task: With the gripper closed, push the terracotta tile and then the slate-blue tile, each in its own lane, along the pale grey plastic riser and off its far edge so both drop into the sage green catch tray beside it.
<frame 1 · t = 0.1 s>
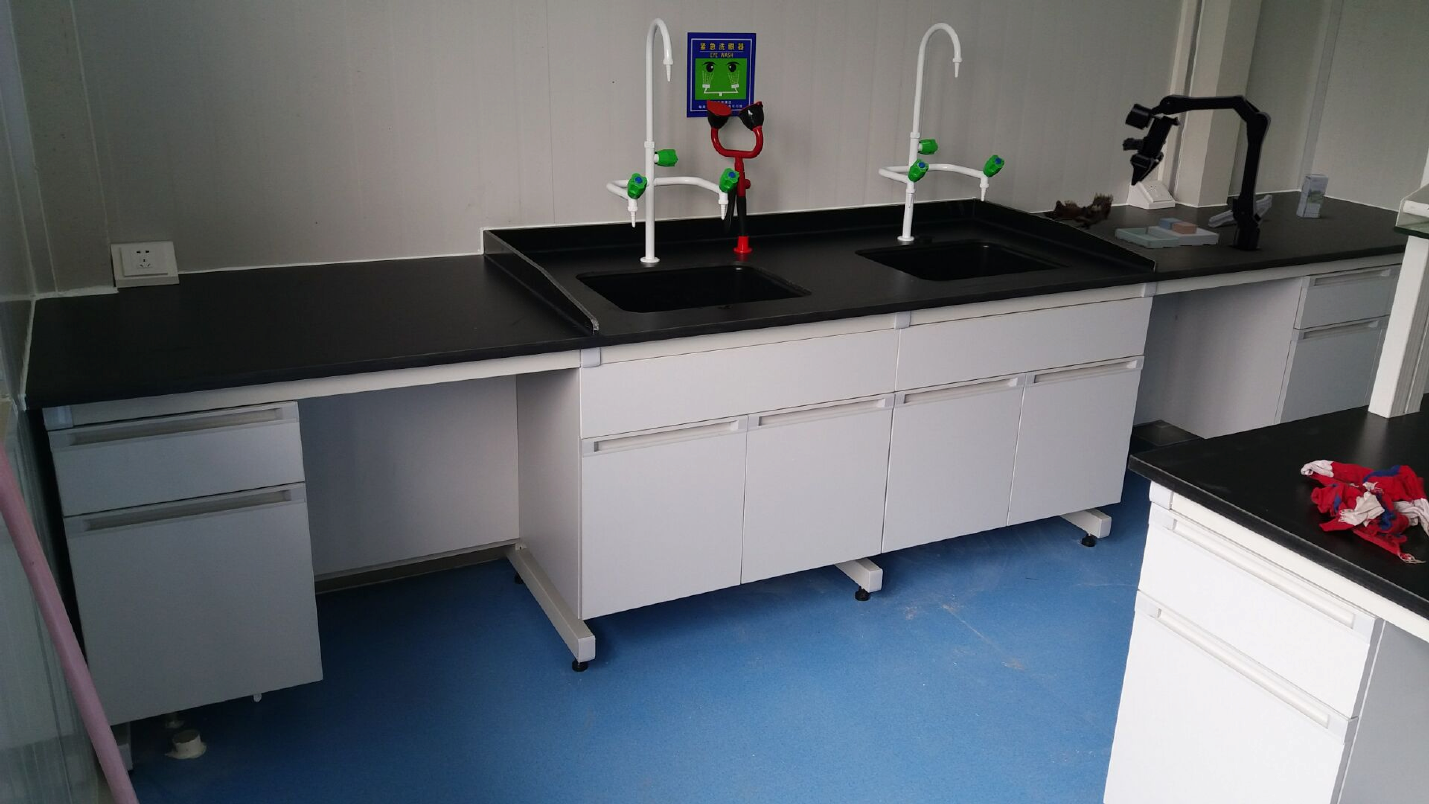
hand: (1136, 183, 340), 15 cm above the countertop, tool pointing down, fingers open, 9 cm apart
catch tray: (1145, 241, 333), on the countertop
terracotta tile: (1183, 232, 334), point 3 cm above the countertop, touching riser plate
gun: (1237, 224, 363), on the countertop
syrup box: (1307, 217, 377), on the countertop
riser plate: (1181, 240, 337), on the countertop
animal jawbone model: (1087, 223, 359), on the countertop
slate blue tile: (1170, 227, 339), point 3 cm above the countertop, touching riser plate
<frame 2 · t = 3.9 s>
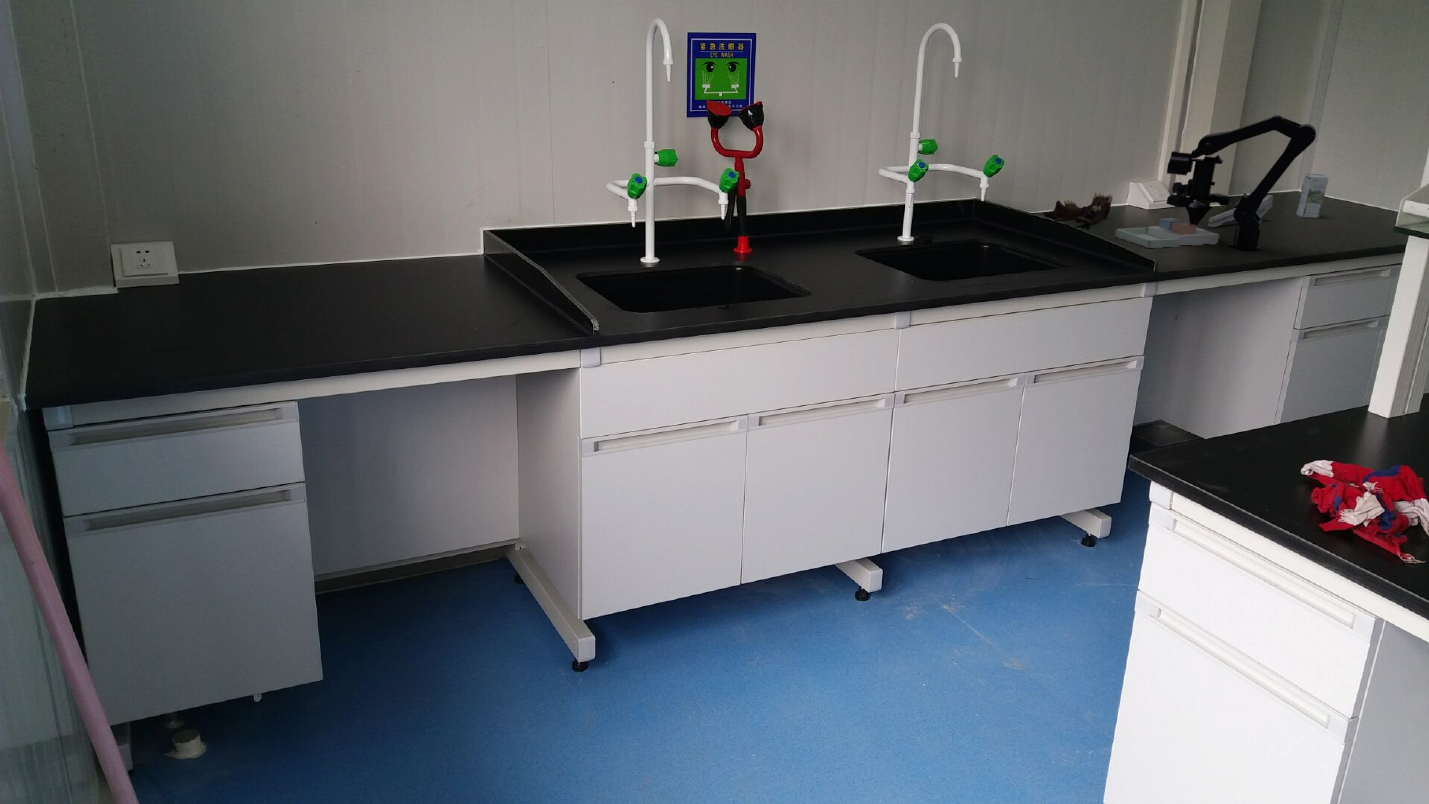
hand: (1192, 228, 334), 4 cm above the countertop, tool pointing down, fingers closed
terracotta tile: (1183, 232, 334), point 3 cm above the countertop, touching gripper
everything else where it was.
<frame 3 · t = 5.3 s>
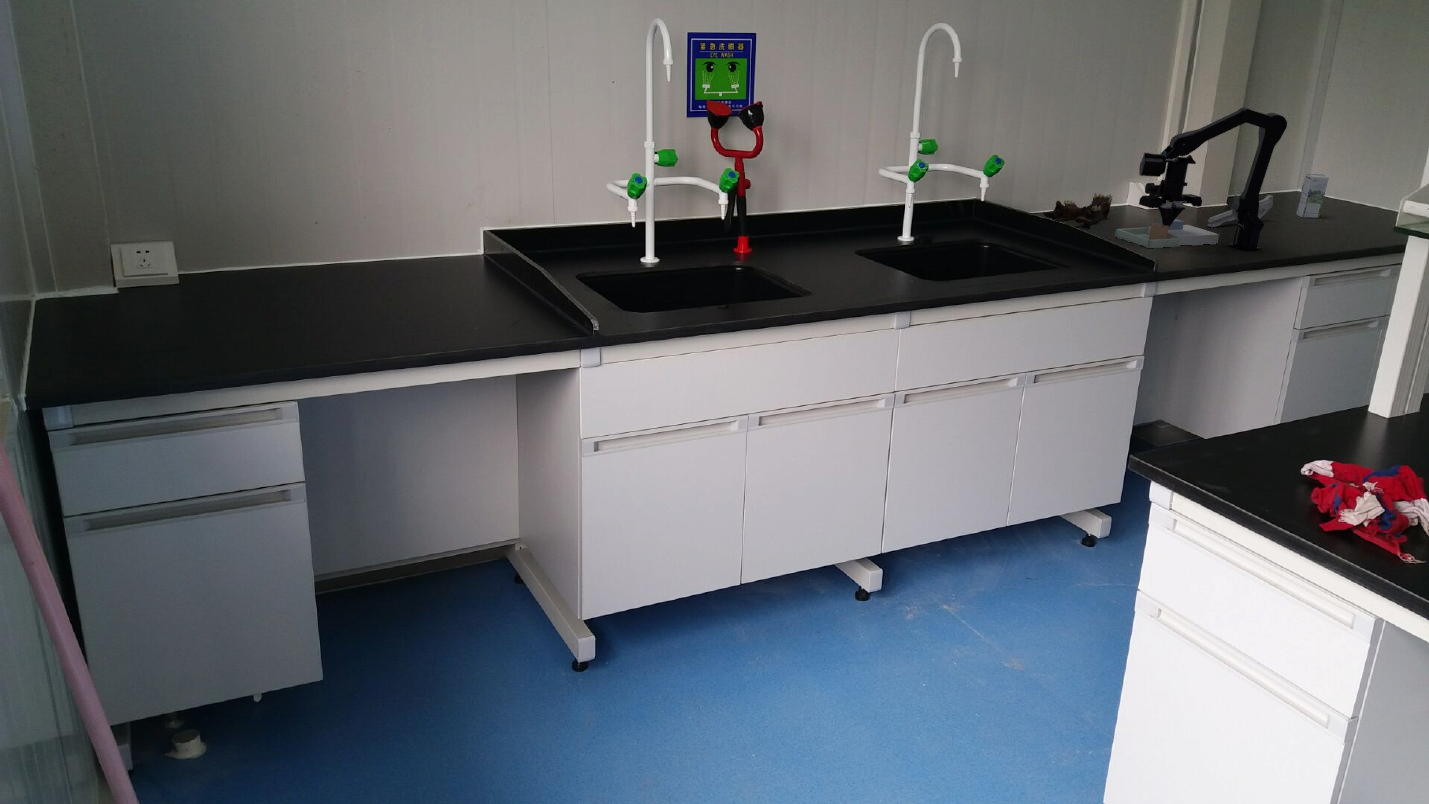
hand: (1165, 229, 332), 4 cm above the countertop, tool pointing down, fingers closed
terracotta tile: (1162, 232, 332), point 3 cm above the countertop, tilted 92°, touching catch tray, gripper
everything else where it was.
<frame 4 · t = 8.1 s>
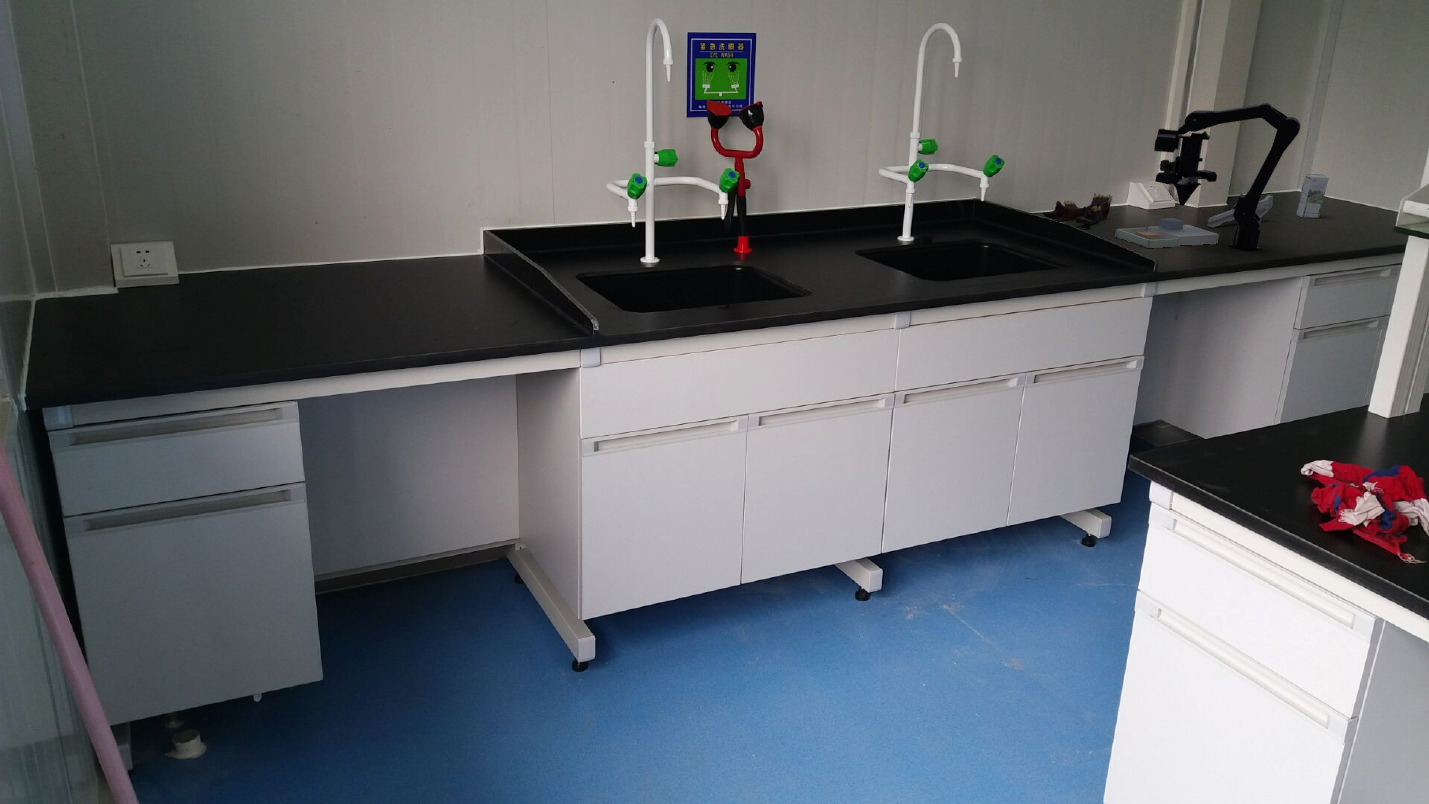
hand: (1181, 205, 334), 11 cm above the countertop, tool pointing down, fingers closed
terracotta tile: (1148, 233, 330), point 3 cm above the countertop, tilted 180°, touching catch tray
everything else where it was.
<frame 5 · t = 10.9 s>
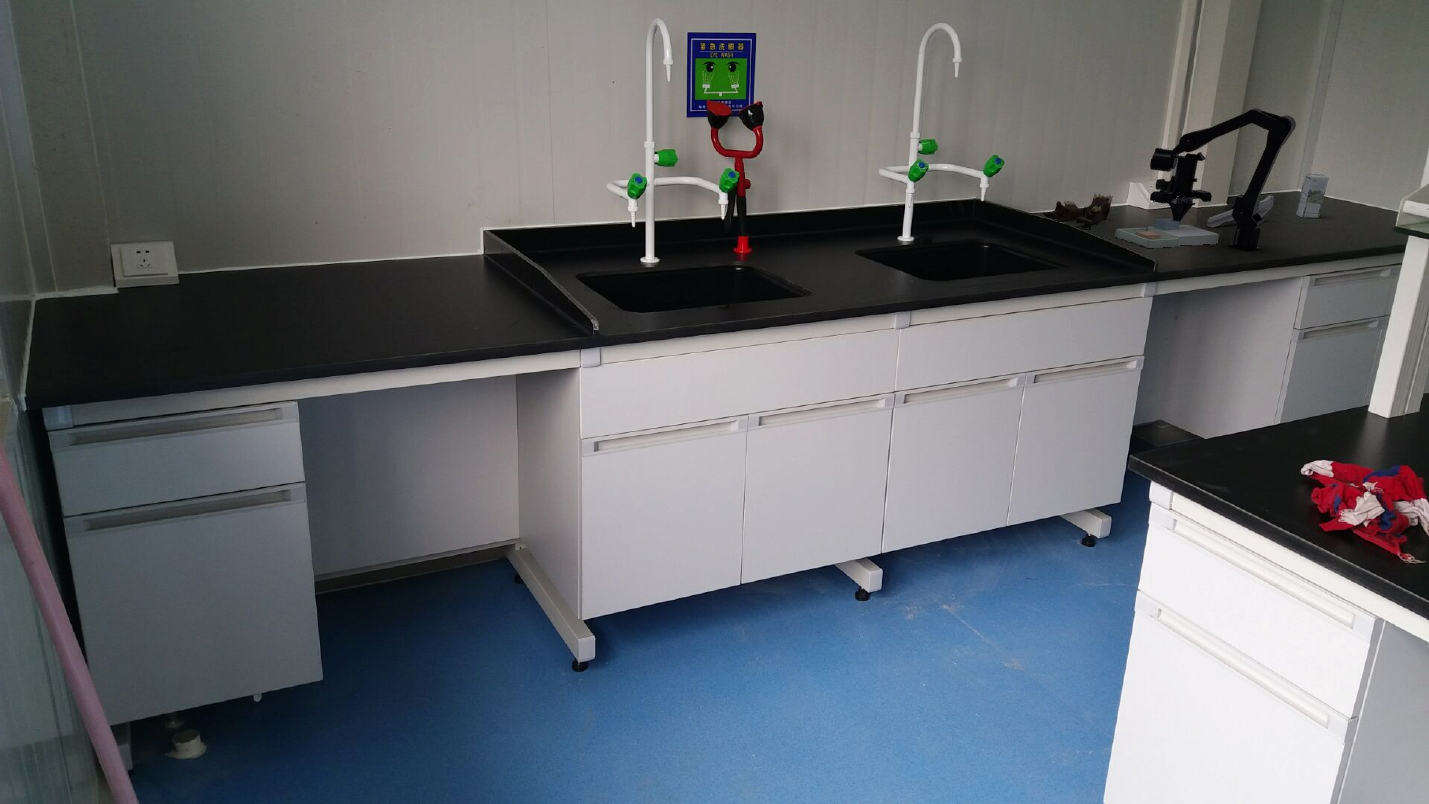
hand: (1176, 224, 339), 4 cm above the countertop, tool pointing down, fingers closed
slate blue tile: (1166, 228, 339), point 3 cm above the countertop, touching gripper, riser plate
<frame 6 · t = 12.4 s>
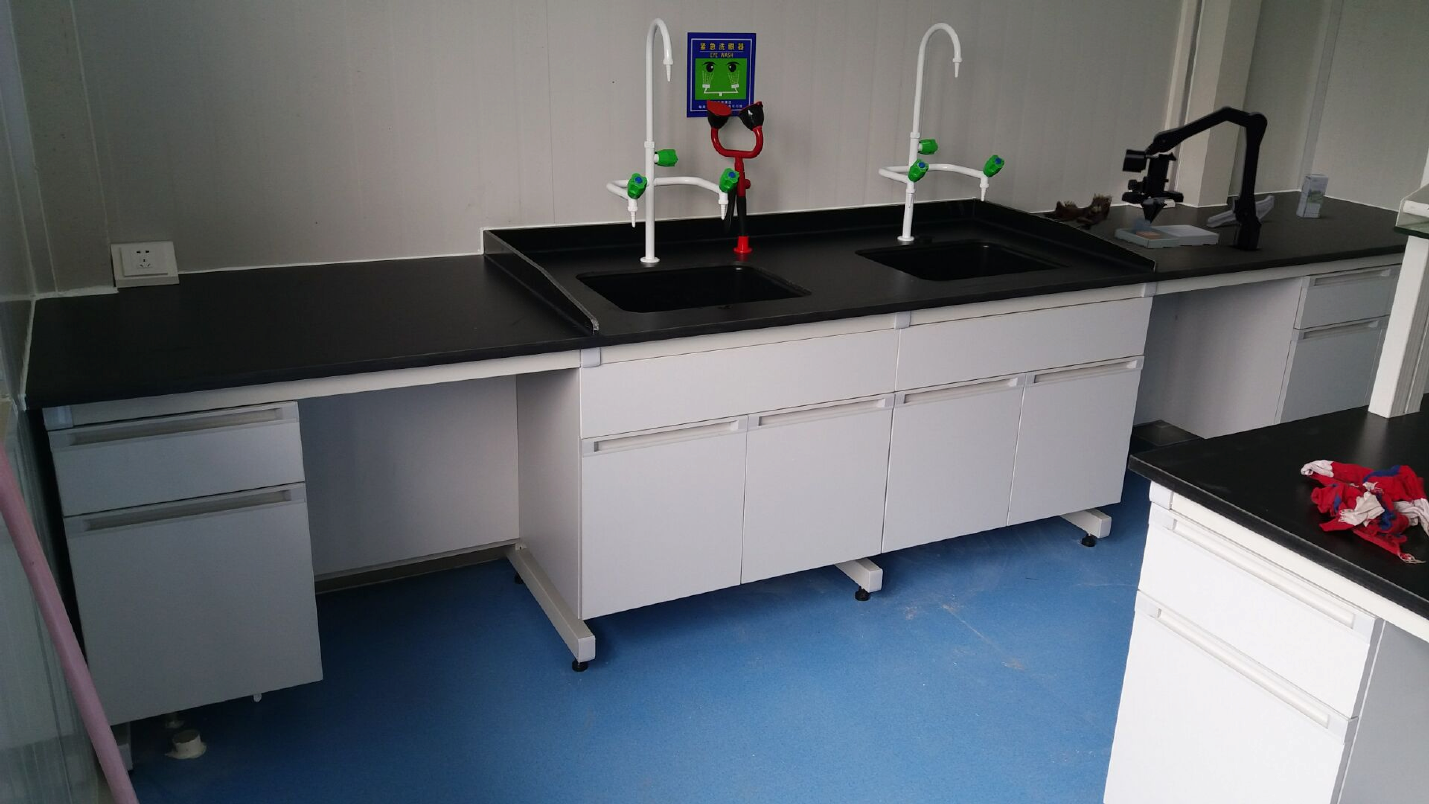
hand: (1147, 224, 336), 4 cm above the countertop, tool pointing down, fingers closed
slate blue tile: (1145, 226, 337), point 4 cm above the countertop, tilted 108°, touching catch tray
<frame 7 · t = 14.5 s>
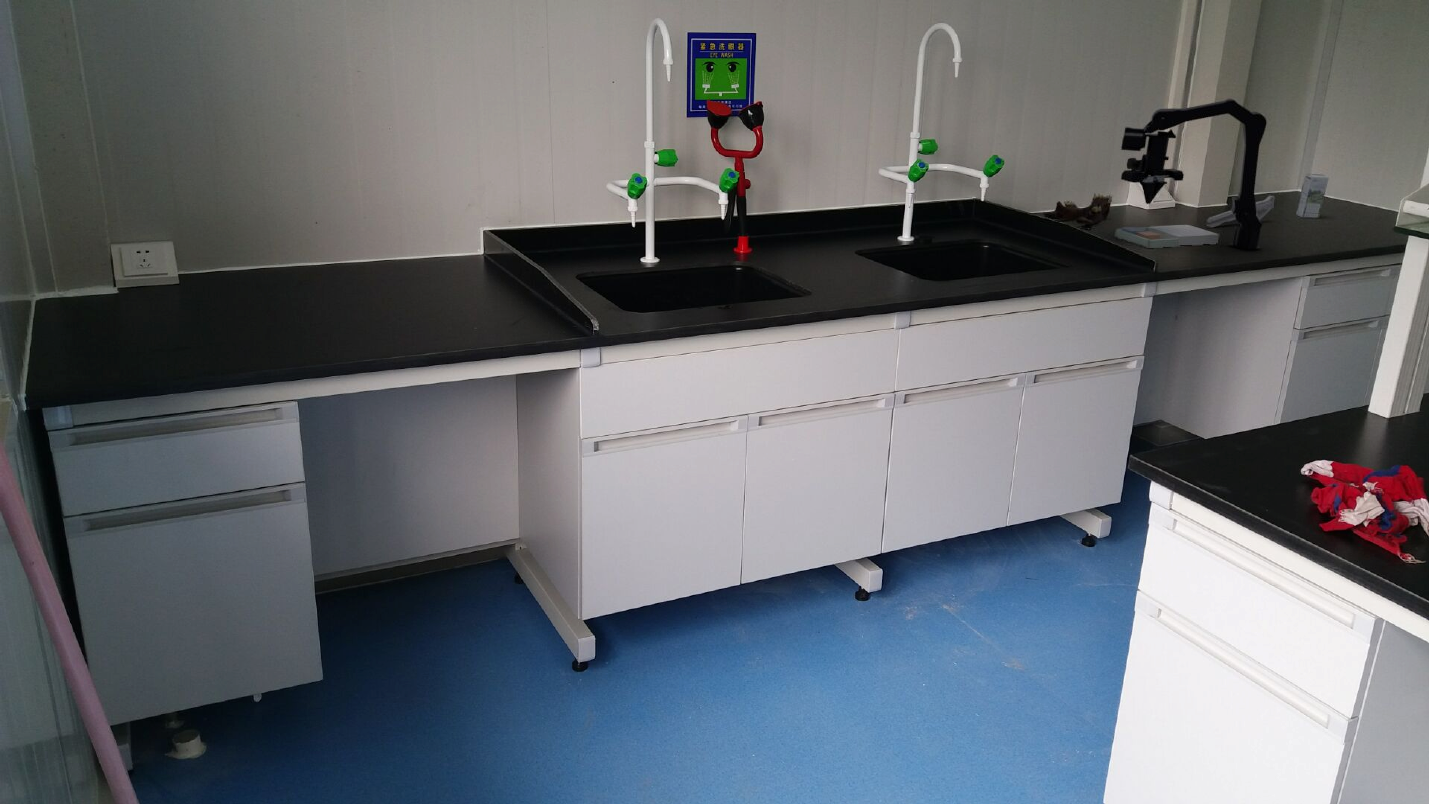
hand: (1147, 203, 334), 11 cm above the countertop, tool pointing down, fingers closed
slate blue tile: (1133, 228, 336), point 3 cm above the countertop, tilted 180°, touching catch tray
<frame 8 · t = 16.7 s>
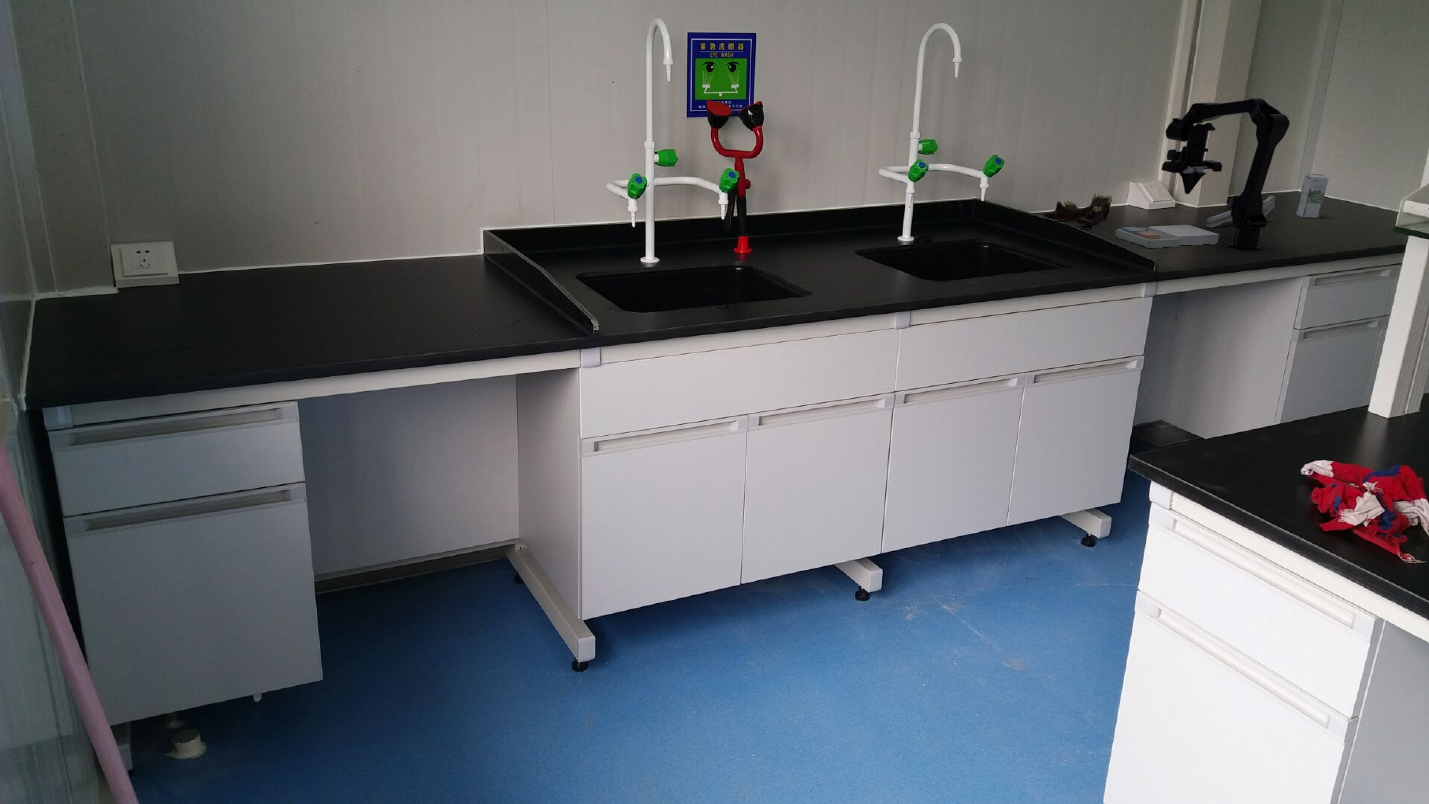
hand: (1187, 193, 345), 12 cm above the countertop, tool pointing down, fingers closed
at the end: terracotta tile inside the target area (1.6 cm from its centre), point 3.1 cm above the countertop; slate blue tile inside the target area (4.6 cm from its centre), point 3.1 cm above the countertop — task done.
